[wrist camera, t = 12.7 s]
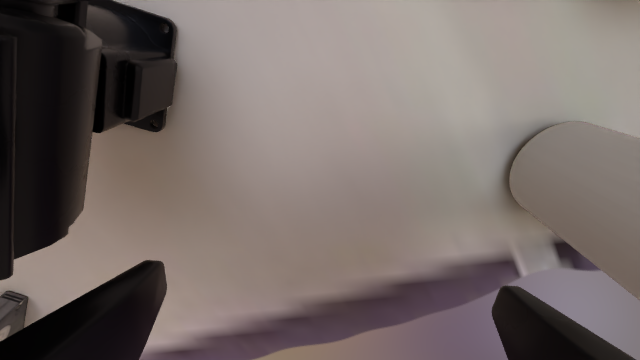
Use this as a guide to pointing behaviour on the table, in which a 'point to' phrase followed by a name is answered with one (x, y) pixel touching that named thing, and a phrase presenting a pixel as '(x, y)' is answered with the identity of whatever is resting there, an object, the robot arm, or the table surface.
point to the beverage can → (586, 193)
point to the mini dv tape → (12, 313)
